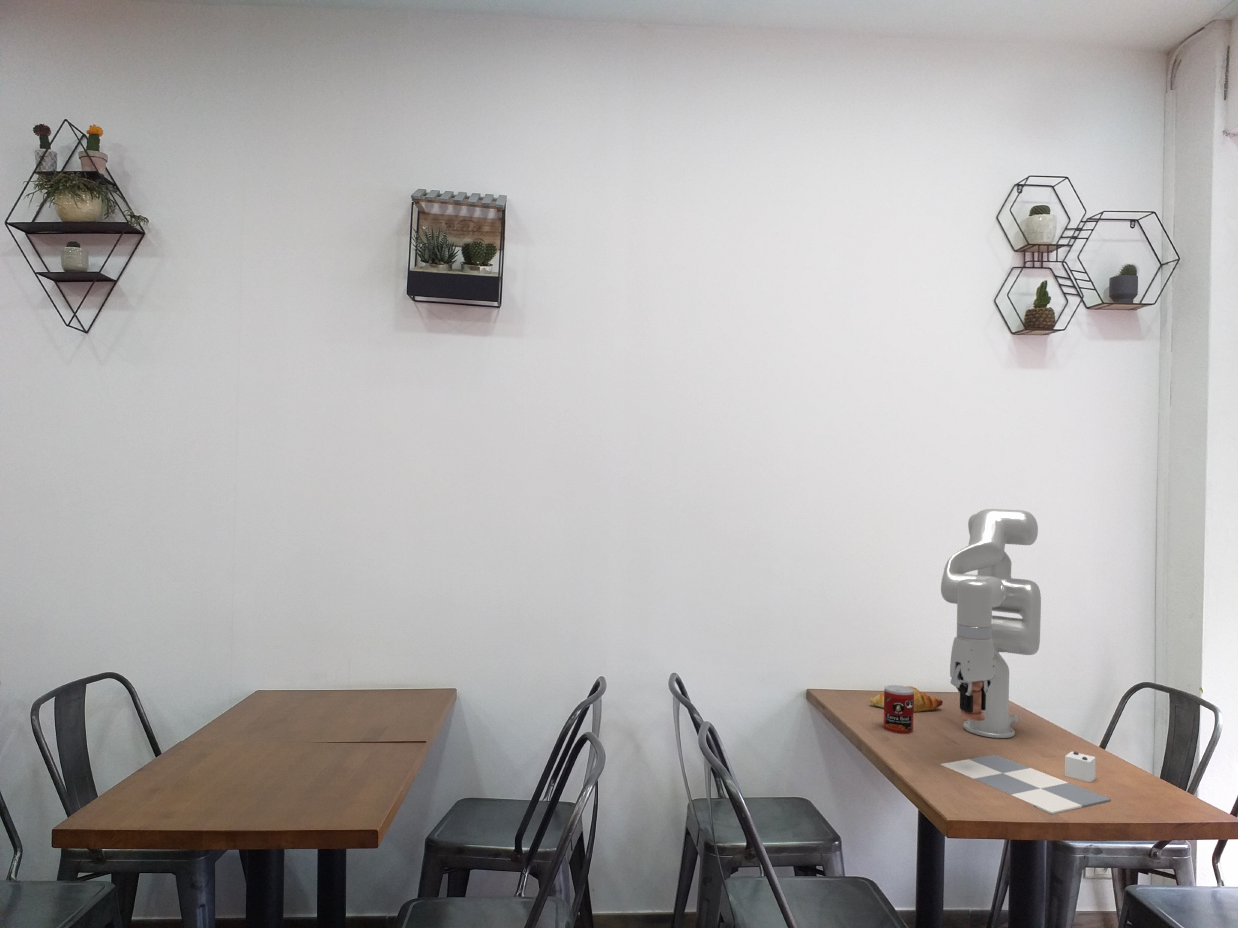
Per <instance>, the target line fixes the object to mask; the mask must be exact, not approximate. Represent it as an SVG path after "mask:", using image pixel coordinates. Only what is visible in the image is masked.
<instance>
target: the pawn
mask: <svg viewBox="0 0 1238 928" xmlns="http://www.w3.org/2000/svg"><path fill="white" fill-rule="evenodd" d="M964 685H965V687H966V686H967V684H965V683H964ZM982 685H983V683H982V681H977V682H972V690H971V695H972V696H973V712H971V713H969V712H966V711H964V710H961V709H960V717H961V718H963V719H965V720H967V721H969V720H973V721H982V720H985V713H984V712H982V711H981V688H982Z"/></svg>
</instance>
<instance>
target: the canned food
mask: <svg viewBox="0 0 1238 928" xmlns="http://www.w3.org/2000/svg"><path fill="white" fill-rule="evenodd" d="M883 694H884V708H883V728H884V729H885V730H886V731H889V732H892V733H895V734H909V733H912V732H913V729H914V715H915V714H914V713H915V712H914V690H913V689H911V688H909V687H906V686H904V685H896V684H894V685H893V684H891V685H885V687H884V690H883Z"/></svg>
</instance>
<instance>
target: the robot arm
mask: <svg viewBox="0 0 1238 928" xmlns="http://www.w3.org/2000/svg"><path fill="white" fill-rule="evenodd" d="M967 522H968V524H967V525H968V527H967V528H968V533H969V534H968V535H969V540H968V545H967V546H965V547H963V548H961V549H960V550H958V551H956V553H954V554H953V555H952V556H950V558H948V560H947V561H946V563H945V566H944V569H943V574H942V577H941V578H942V579H941V584H940V593H941V597H942V598H943V600H944V601H945V602H947V603H948V604H949V603H950V604H954V605H956V636H955V637H954V639H953V641H952V647H951V651H950V652H951V653H950V654H951V655H950V665H949V667H950V668H949V677H951V679H950V685H952V686H954V687H955V688H956V689H957V692H958V693H959V709H960V711H961V710H964V711H966V712H969V713H971V712H973V696H972V695H971V690H972V682H977V681H982V683H983V685H982V688H981V711H982V712H984V713H985V720H982V721H973V720H965V721H964V722H963V728H964V730H966V731H967V732H968V733H972V734H974V735H978V736H981V737H987V738H994V739H1009V738H1012V737H1014V736H1015V730H1014V729H1013V727H1011V724H1013V723H1014V724H1015V723H1018V722H1019V721H1020V718H1019V716H1018V715H1017V714H1015V715H1010V714H1009V713H1010V711H1009V705H1010V704H1009V702H1010V695H1009V694H1010V668H1009V665H1008V663H1007V662H1006V660H1005V659H1004V657H1003V656H1002V655H1001V654H1000V653H1006V654H1016V655H1025V656H1032V655H1036V654H1037V653H1038V651H1039V650H1040V649H1039V648H1040V643H1041V617H1042V616H1041V613H1042V611H1041V609H1042V596H1041V594H1042V593H1041V589H1040V587H1039V585H1038V584H1037V583H1036V582H1034V581H1033V580H1029V579H1023V578H1013V577H1012V563H1013V562H1012V559H1011V558H1010V556H1009V555H1008V553H1007V552H1006V551H1005V547H1006V545H1015V546H1017V545H1018V546H1031V545H1033V544H1034V543H1035V542H1036V541H1037V538H1038V534H1039V527H1038V526H1039V525H1038V521H1037V519H1036V518H1035V516H1034V515H1033V514H1032V513H1031V512H1029V511H1026V510H1021V509H1003V508H1001V509H1000V508H999V509H998V508H997V509H996V508H987V509H986V508H985V509H982V510H980V511H977V513H975V514H972V515H971V516H970V517H969V519H968V521H967ZM974 571H977V574H969V572H974ZM993 612H997V613H998V612H999V613H1008V614H1017V615H1019V616H1021V618H1020V617H1019V618H1017V617H1007V616H1002V615H993ZM964 683H965V684H967V686H966V687H965V685H964Z"/></svg>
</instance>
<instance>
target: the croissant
mask: <svg viewBox="0 0 1238 928" xmlns="http://www.w3.org/2000/svg"><path fill="white" fill-rule="evenodd" d="M905 687H909V688H911V689H913V690H914V713H920V712H924V711H925V712H927V711H933V710H936V709H938V708H939V707H941V706H943V703H944V702H943V700H942V699H940V698H936V697H935V696H932V695H927V693H926V692H922V691H920V690H919V689H917V688H916V687H913V686H911V685H907V686H905ZM869 702H870V704H872V705H873V706H874V707H879V708H881V709H884V693H879V694H877V695H876V696H874V697H873V696H872V697H870V698H869Z"/></svg>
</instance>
